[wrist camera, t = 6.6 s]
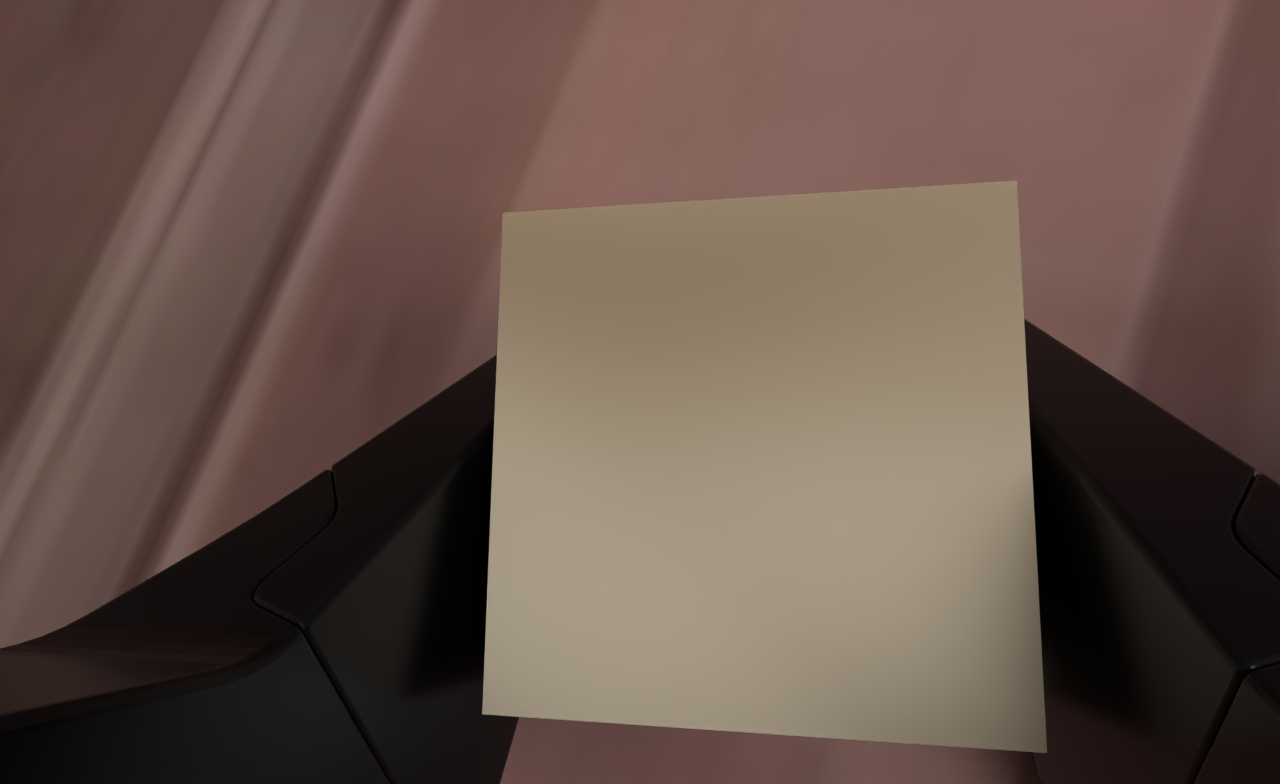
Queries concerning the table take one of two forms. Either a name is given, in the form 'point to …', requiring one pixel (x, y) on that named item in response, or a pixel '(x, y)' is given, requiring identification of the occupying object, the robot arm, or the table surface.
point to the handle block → (768, 469)
